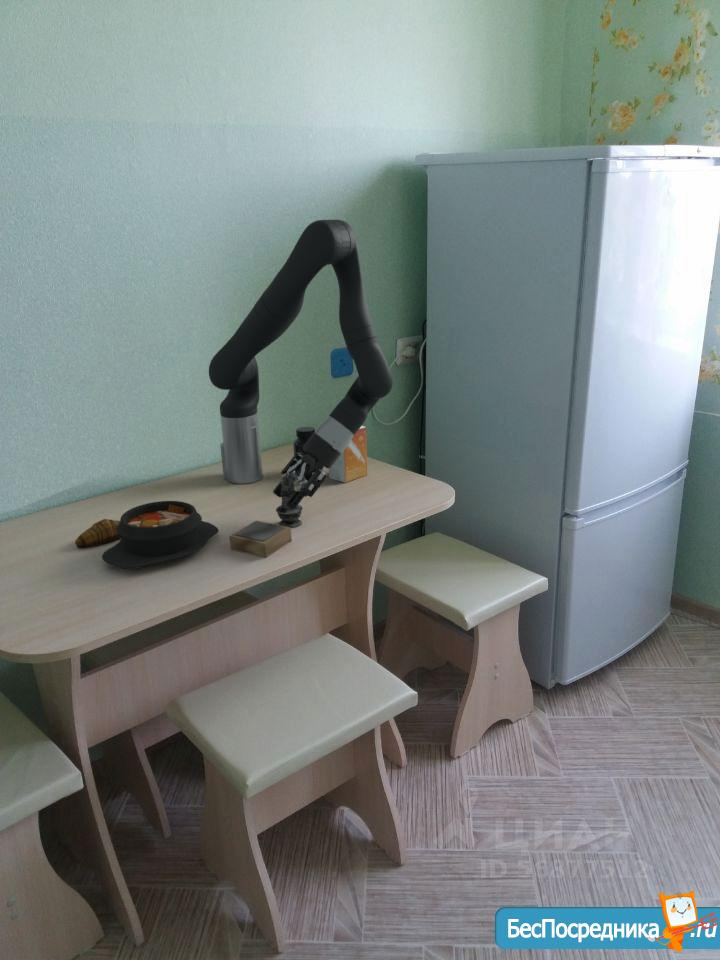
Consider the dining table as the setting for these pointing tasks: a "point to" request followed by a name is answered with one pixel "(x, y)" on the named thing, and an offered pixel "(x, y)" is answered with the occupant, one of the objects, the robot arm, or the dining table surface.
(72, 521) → the dining table surface
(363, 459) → the small box
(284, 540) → the wooden picture frame
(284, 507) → the dark grey chess piece
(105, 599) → the dining table surface
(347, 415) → the robot arm
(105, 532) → the croissant
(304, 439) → the supplement bottle
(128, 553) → the casserole
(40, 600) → the dining table surface
